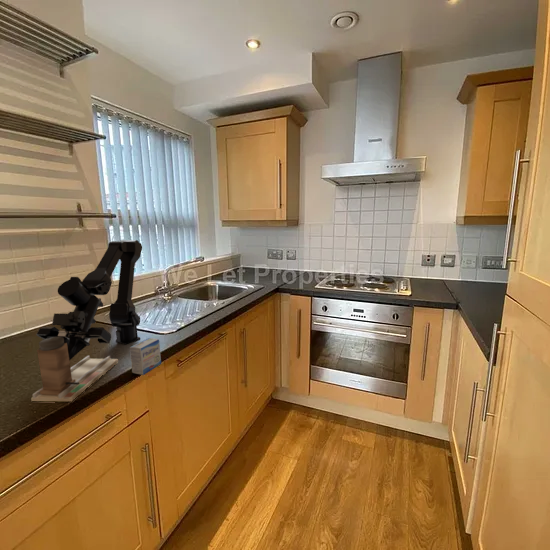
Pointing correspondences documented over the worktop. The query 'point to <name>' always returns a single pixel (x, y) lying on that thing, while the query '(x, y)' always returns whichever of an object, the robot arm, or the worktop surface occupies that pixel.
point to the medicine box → (145, 356)
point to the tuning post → (54, 366)
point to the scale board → (80, 378)
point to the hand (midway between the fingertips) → (62, 364)
